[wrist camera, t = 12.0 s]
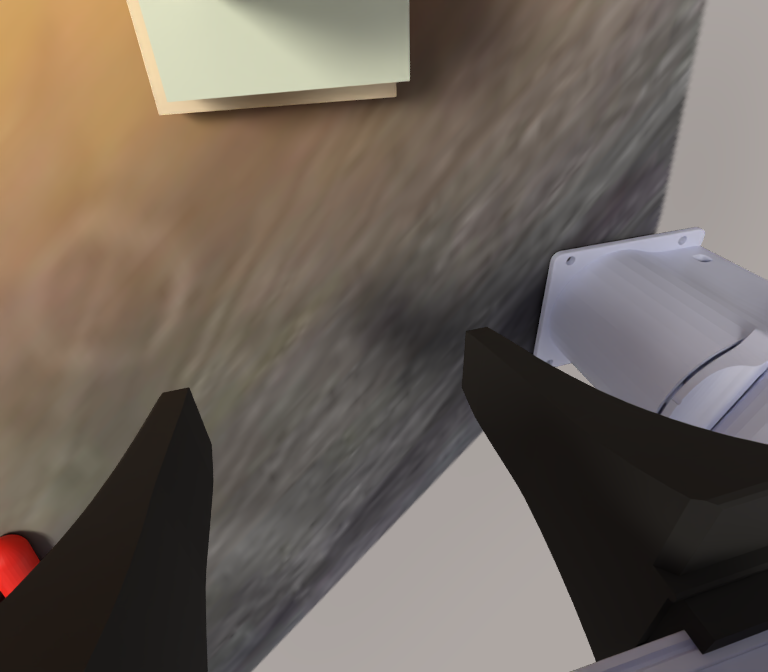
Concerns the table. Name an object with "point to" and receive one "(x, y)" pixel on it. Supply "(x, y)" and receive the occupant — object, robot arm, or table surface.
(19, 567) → the toy gun
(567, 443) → the robot arm
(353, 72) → the sage top slab
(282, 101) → the oak base slab
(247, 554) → the table surface
